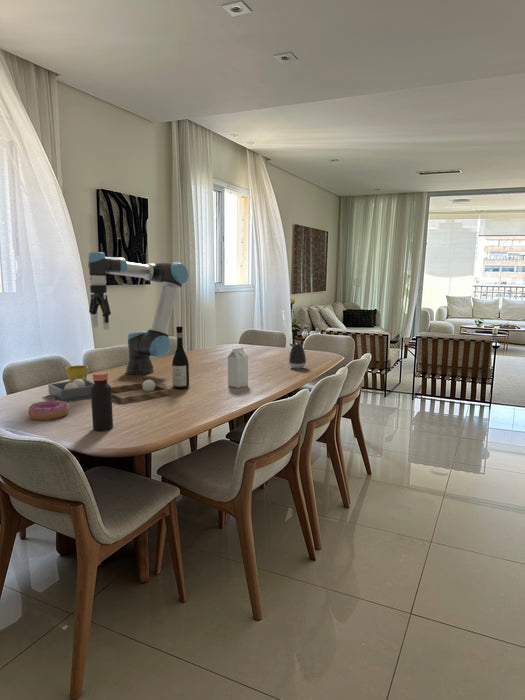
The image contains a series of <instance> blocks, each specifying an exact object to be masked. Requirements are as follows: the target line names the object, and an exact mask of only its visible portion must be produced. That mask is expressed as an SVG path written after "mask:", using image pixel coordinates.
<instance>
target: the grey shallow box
mask: <svg viewBox="0 0 525 700" xmlns="http://www.w3.org/2000/svg"><path fill="white" fill-rule="evenodd" d="M82 380H83V381H84V382H85V385H86V386H85V387H79V388H72V389H65V390H64V387H65V385H66V384H68V383H72V382H73V381H69V380H68V381H62V382H60V381H59V382H53V383H48V384H47V385H48V386H47V387H48V395H49V394H50V395H51V397H52V396H53V397H52V398H54V397H55V398H54V399H56V400H57V399H58V401H64V402H69V401H75V400H81V399H82V398H83V399H88V397H89V398H91V387H92V386H93V385H94V381H91V380H89V379H82ZM50 395H49V396H50Z"/></svg>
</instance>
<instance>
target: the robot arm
mask: <svg viewBox="0 0 525 700" xmlns="http://www.w3.org/2000/svg"><path fill="white" fill-rule="evenodd" d="M87 267H88V271H89V278H88V280H89V284H90V285H89V288H90V289H89V291H90V293H91V294H90V302H89V303H90V304H89V310H88V311H89V314H90V315H91V328H98V327H99V321H98V318H99V317H98V314H99V313H98V309H99V307H100V309H101V312H102V329H103V331H104V330H106V331H107V330H110V315H112V314H111V313H112V312H111V308H110V305H109V300H108V295H107V294H106V293H107V292H108V290H107V285H106V284H107V274H108V275H109V274H110V275H114V276H115V275H117V276H125V277H131V278H132V277H133V278H140V279H144V280H145V281H151V282H154V283H159V284H160V285H161V287H162V288H161V291H160V293H159V294H160V295H159V298H158V299H159V300H158V302H157V307H156V310H155V314H154V318H153V321H152V326H151V327H150V328H149V329H147V330H146V331H137V332H130V333H128V336H127V347H128V361H127V365H126V370H125V372H126V374H128V373H129V374H128V375H146V374H147V373H148V374H152V373H153V372H154V366H153V363H152V360H151V357H154V358H155V357H156V358H158V357H159V358H160V357H165V356H166V355H167V354H168V353H169V352H170V350H171V347H172V346H171V345H172V342H171V339H170V338H169V337H170V335H169V333H168V329H169V325H170V321H171V318H172V314H173V310H174V306H175V303H176V302H175V301H176V299H177V295H178V292H179V291H181V290H182V286H183V284H185V283H187V281H188V280H189V270H188V268H187V267H186V265H185V264H183V263H182V262H177V261H174V262H156V263H149V262H147V263H145V264H144V263H143V264H142V263H137V262H130V261H127V259H126V258H125V257H120V256H119V257H118V256H106V254H105V252H103V251H102V252H101V251H91V252H89V253H88V263H87ZM151 372H152V373H151Z"/></svg>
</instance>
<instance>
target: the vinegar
mask: <svg viewBox="0 0 525 700" xmlns="http://www.w3.org/2000/svg"><path fill="white" fill-rule="evenodd" d="M108 379H109V375H108V372H105V371H98V372H94V373H92V380H93V382H94V385H93V386H92V387H91V397H90V399H91V414H92V416H91V417H92V429H93V430H94V431H95V432H105V431H109V430H112V429H113V427H114V417H113V415H114V414H113V400H112V395H111V387H112V386H111V385H110V384H109V383H108V381H109V380H108Z"/></svg>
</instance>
